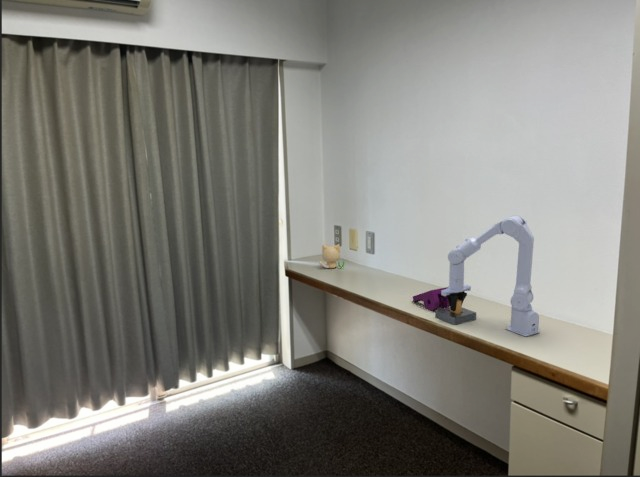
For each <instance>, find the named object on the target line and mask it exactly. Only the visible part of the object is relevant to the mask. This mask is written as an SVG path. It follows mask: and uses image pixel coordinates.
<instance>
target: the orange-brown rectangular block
mask: <svg viewBox="0 0 640 477" xmlns="http://www.w3.org/2000/svg"><path fill="white" fill-rule="evenodd" d="M461 304H462V301H461V300H458V299H457V303H456V310H455V311H452V310H451V309H450V312H453V313H455V314H460V313H461ZM462 305H463V304H462Z"/></svg>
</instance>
